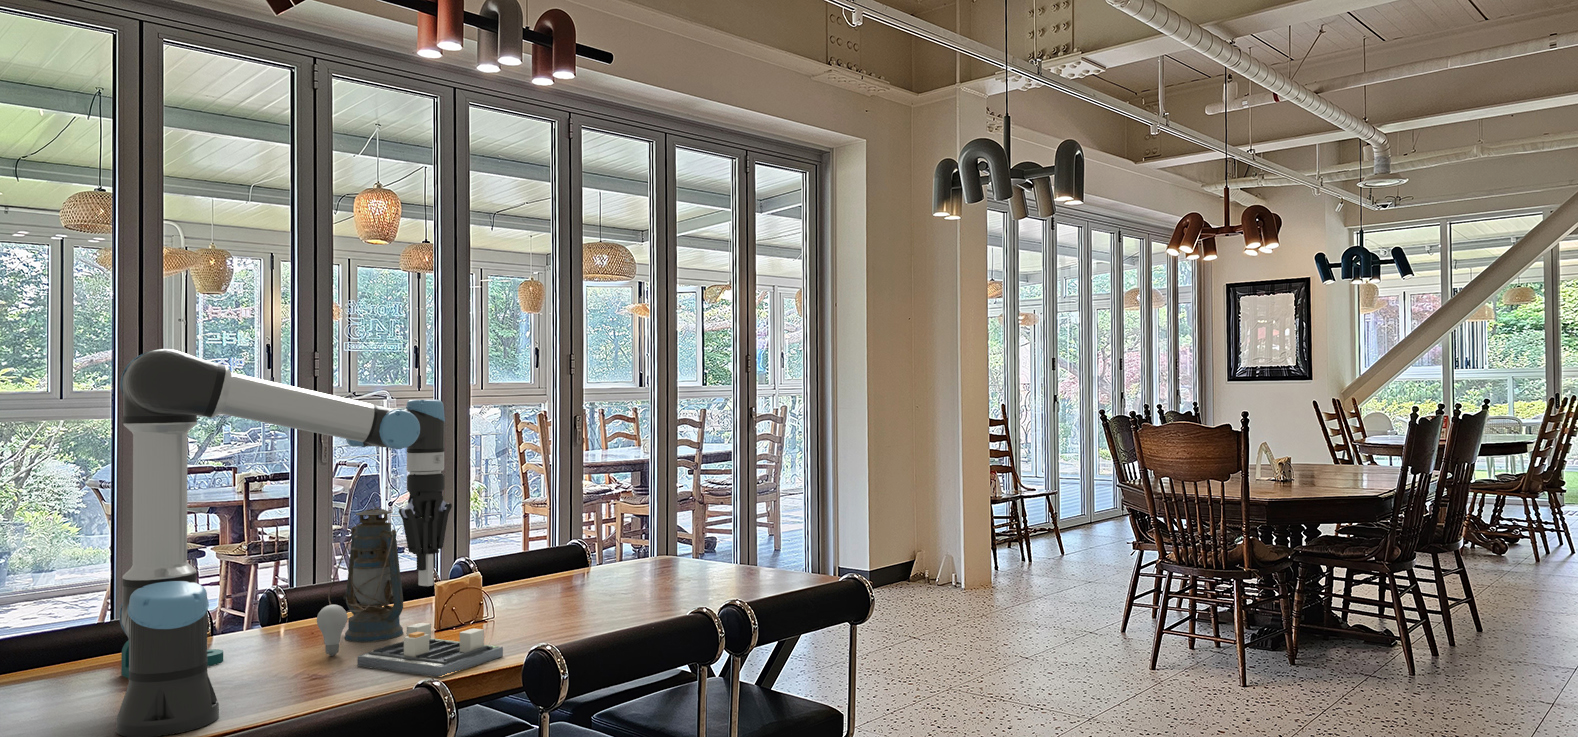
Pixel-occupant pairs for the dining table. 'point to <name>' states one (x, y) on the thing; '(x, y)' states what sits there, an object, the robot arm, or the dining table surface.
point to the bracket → (212, 658)
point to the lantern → (373, 580)
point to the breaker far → (420, 629)
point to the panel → (429, 658)
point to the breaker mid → (416, 644)
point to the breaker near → (471, 639)
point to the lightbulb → (332, 626)
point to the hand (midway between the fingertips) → (425, 585)
